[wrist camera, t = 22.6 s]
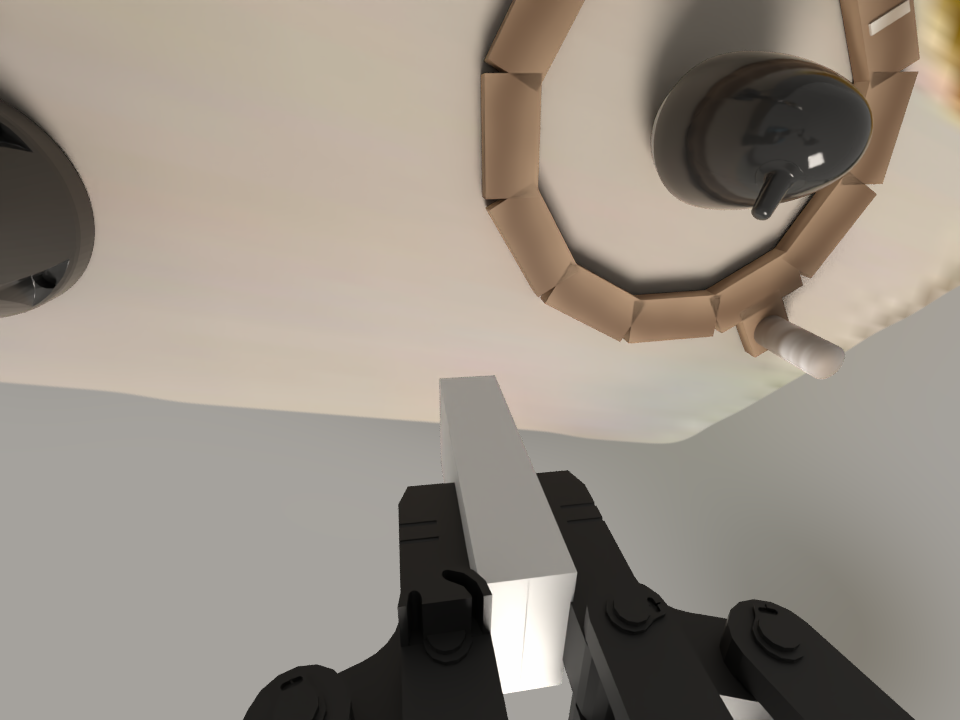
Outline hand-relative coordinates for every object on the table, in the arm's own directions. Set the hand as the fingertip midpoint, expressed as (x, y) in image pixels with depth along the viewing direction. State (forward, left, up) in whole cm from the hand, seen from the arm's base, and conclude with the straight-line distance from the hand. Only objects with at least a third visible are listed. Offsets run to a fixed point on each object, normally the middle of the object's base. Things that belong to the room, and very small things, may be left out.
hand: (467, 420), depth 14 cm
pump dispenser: (+22, +7, -29) cm, 37 cm away
